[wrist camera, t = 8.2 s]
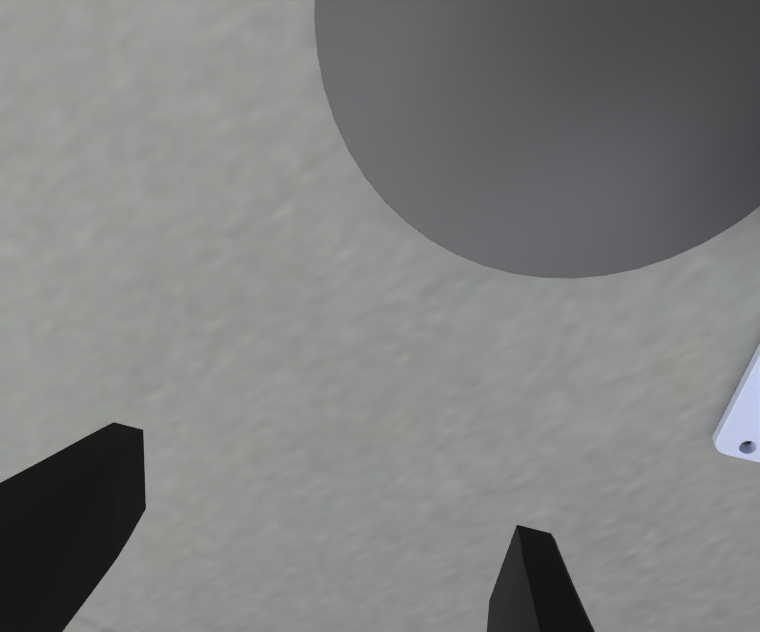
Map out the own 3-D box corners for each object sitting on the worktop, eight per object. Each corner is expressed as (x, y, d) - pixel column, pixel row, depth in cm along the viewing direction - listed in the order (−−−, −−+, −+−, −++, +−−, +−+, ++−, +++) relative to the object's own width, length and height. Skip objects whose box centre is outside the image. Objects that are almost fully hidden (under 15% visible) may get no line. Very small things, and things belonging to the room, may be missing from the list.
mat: (1021, -302, 12) (1063, -329, 11) (735, 307, 18) (747, 321, 17) (356, -366, 13) (346, -394, 13) (304, 220, 20) (294, 228, 19)
